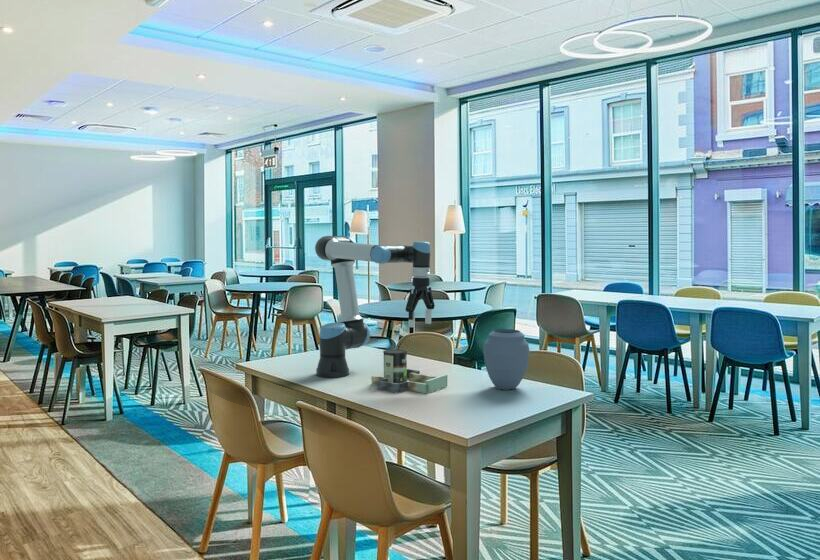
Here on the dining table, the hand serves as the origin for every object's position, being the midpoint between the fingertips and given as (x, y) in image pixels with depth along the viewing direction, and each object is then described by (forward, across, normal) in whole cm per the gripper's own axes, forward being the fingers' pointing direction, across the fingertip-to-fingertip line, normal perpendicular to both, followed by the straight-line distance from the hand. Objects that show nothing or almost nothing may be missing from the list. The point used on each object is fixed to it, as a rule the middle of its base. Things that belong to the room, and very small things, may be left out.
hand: (420, 325), depth 288 cm
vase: (+24, +10, -37) cm, 46 cm away
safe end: (+25, -9, -12) cm, 29 cm away
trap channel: (+25, -8, +2) cm, 26 cm away
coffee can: (+25, -8, +7) cm, 28 cm away
